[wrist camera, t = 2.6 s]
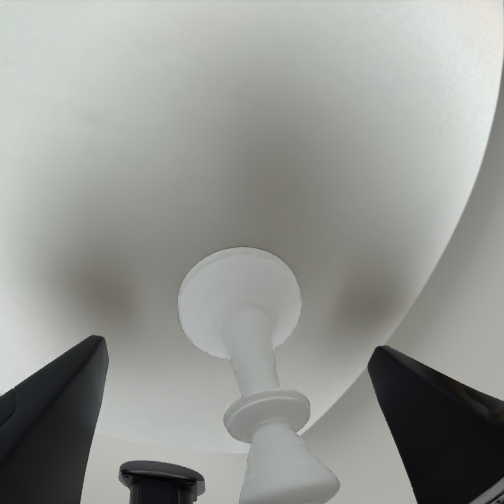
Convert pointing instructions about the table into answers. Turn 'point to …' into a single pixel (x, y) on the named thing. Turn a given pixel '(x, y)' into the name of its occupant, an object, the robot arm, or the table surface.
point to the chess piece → (256, 369)
